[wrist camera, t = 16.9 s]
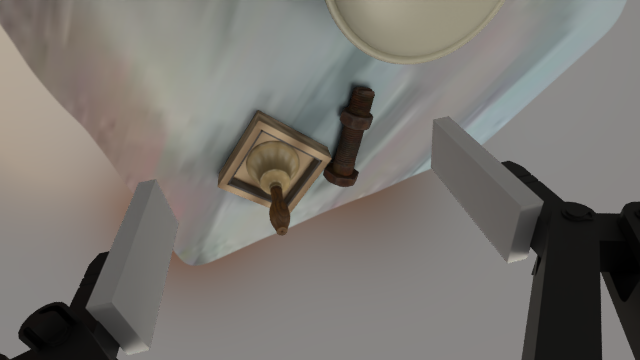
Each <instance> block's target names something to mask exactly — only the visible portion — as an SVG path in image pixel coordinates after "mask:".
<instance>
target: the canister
mask: <svg viewBox="0 0 640 360" xmlns="http://www.w3.org/2000/svg"><path fill="white" fill-rule="evenodd" d="M325 2H326V5H327V7H328V9H329V12H330V14H331V16H332V18H333V19H334V21H335V23H336V24H337V26H338V27H339V29H340V30H341V32H342V33H343V34H344V35H345V36H346V37H347V39H348V40H349V41H350V42H351V43H353V44H354V45H355V46H356V47H357V48H359V49H360V50H361V51H363V52H364V53H366V54H368V55H370V56H372V57H374V58H376V59H379V60H381V61H385V62H389V63H394V64H419V63H424V62H429V61H432V60H435V59H438V58H441V57H443V56H445V55H448V54H450V53H451V52H453V51H455V50H457V49H458V48H460V47H462V46H463V45H464V44H466V43H467V42H469V41H470V40H471V39H472V38H474V37H475V36H476V35H477V34H478V33H479V32H480V31H481V30H482V29H483V28H484V27H485V26H486V25H487V24H488V23H489V22H490V21H491V20H492V18H493V17H494V16H495V15H496V13H497V12H498V11H499V9H500V8H501V6H502V5H503V3H504V2H505V0H325Z"/></svg>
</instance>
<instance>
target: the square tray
mask: <svg viewBox="0 0 640 360" xmlns="http://www.w3.org/2000/svg"><path fill="white" fill-rule="evenodd" d="M267 141H280V142H283V143H285V144H287V145H289V146H291V147H292V148H293V149H294V150H295V151H296V152H297V154H298V157H299V160H300V166H299V170H298V172H297V174H296V176H295V177H294V178H293V179H292V180H291V182H290V186H289V188H288V189H287V190H286V191H285V192H284V193H283V200H284V201H285V203H286V204H287V206H288V208H289V212H290V213H291V212H292V210H293V209H294V208H295V206H296V205H297V204H298V202H299V201H300V200H301V198H302V197H303V196H304V194H305V193H306V192H307V190H308V189H309V188H310V187H311V185H312V184H313V183H314V181H315V180H316V179H317V177H318V176H319V175H320V173H321V172H322V171H323V169H324V168H325V167H326V165H327V164H328V163H329V162H330V160H331V159H332V158H331V155H330V153H329V150H328V148H327V147H326V146H324V145H322V144H320V143H318V142H316V141H315V140H313V139H311V138H309V137H307V136H305V135H303V134H302V133H300V132H298V131H296V130H294V129H292V128H290V127H288V126H287V125H285V124H283V123H281V122H279V121H277V120H275V119H274V118H272V117H270V116H268V115H266V114H264V113H262V112H260V111H259V110H258V111H257V113H256V114H255V116H254V118H253V119H252V121H251V123H250V124H249V126H248V127H247V129H246V131H245V132H244V134H243V136H242V137H241V139H240V141H239V142H238V144H237V145H236V147H235V149H234V150H233V152H232V154H231V155H230V157H229V159H228V160H227V162H226V163H225V165H224V167H223V168H222V170H221V172H220V173H219V178H218V187H219V188H221V189H224V190H226V191H229V192H231V193H234V194H236V195H239V196H241V197H244V198H246V199H249V200H251V201H253V202H256V203H258V204H261V205H263V206H266V207H268V208H270V206H271V203H272V198H271V195H270V194H268V193H266V192H264V191H263V190H262V188H261V186H260V184H258V183H257V182H255V181H254V180H253V179H252V178H251V177H250V176H249V174H248V172H247V168H246V161H247V157H248V155H249V153H250V152H251V151H252V149H253V148H255V147H256V146H257V145H259V144H261V143H264V142H267Z"/></svg>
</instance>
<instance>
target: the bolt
mask: <svg viewBox="0 0 640 360" xmlns="http://www.w3.org/2000/svg"><path fill="white" fill-rule="evenodd" d="M352 94H353V95H352V97H351V101H350V104H349V105H350V106H349V107H346V108H344V110H343V111H342V113H341V117H340V121H341V122H342V123H343V124H344V127H343V131H342V135H341V137H340V138H341V139H340V141H339V145H338V149H337V153H336V156H335V158H334V161H333V163H331V162H330V163H329V164H328V165H327V166H326V168H325V169H324V173H323V175H324V177H325V178H326V179H327V180H328V181H329V182H330V183H333V184H335V185H338V186H341V187H349V186H353V185H354V183H355V181H356V179H357V177H358V173H359V172H358V171H357V170H355V169H354V165H355V160H356V156H357V153H358V150H359V147H360V143H361V140H362V137H363V133H364V130H367V129H369V127H370V125H371V123H372V120H373V116H372V114H371V113H370V109H371V105H372V103H373V98H374V96H375V94H374V91H372V89H370V88H366V87H356V88H354V90H353V93H352Z"/></svg>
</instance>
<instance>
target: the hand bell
mask: <svg viewBox="0 0 640 360" xmlns="http://www.w3.org/2000/svg"><path fill="white" fill-rule="evenodd" d="M299 166H300V160H299V157H298V154H297V152H296V151H295V150H294V149H293V148H292V147H291V146H289V145H287V144H285V143H283V142H280V141H267V142H264V143H261V144H259V145H257V146H256V147H255V148H253V149H252V151H251V152H250V153H249V155H248V157H247V161H246V168H247V172H248V174H249V176H250V177H251V178H252V179H253V180H254V181H255V182H257V183H258V184H260V186H261V188H262V190H263V191H264V192H266V193H268V194H270V195H271V198H272V203H271V206H270V211H269V215H270V221H271V224H272V225H273V227H274V228H275V230H276V232H277V234H279V235H285V234H286V233H287V229H288V226H289V223H290V212H289V208H288V206H287V204H286V203H285V201H284V200H283V193H284V192H285V191H286V190H287V189H288V188H289V186H290V182H291V180H292V179H293V178H294V177H295V176H296V174H297V172H298V170H299Z"/></svg>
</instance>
